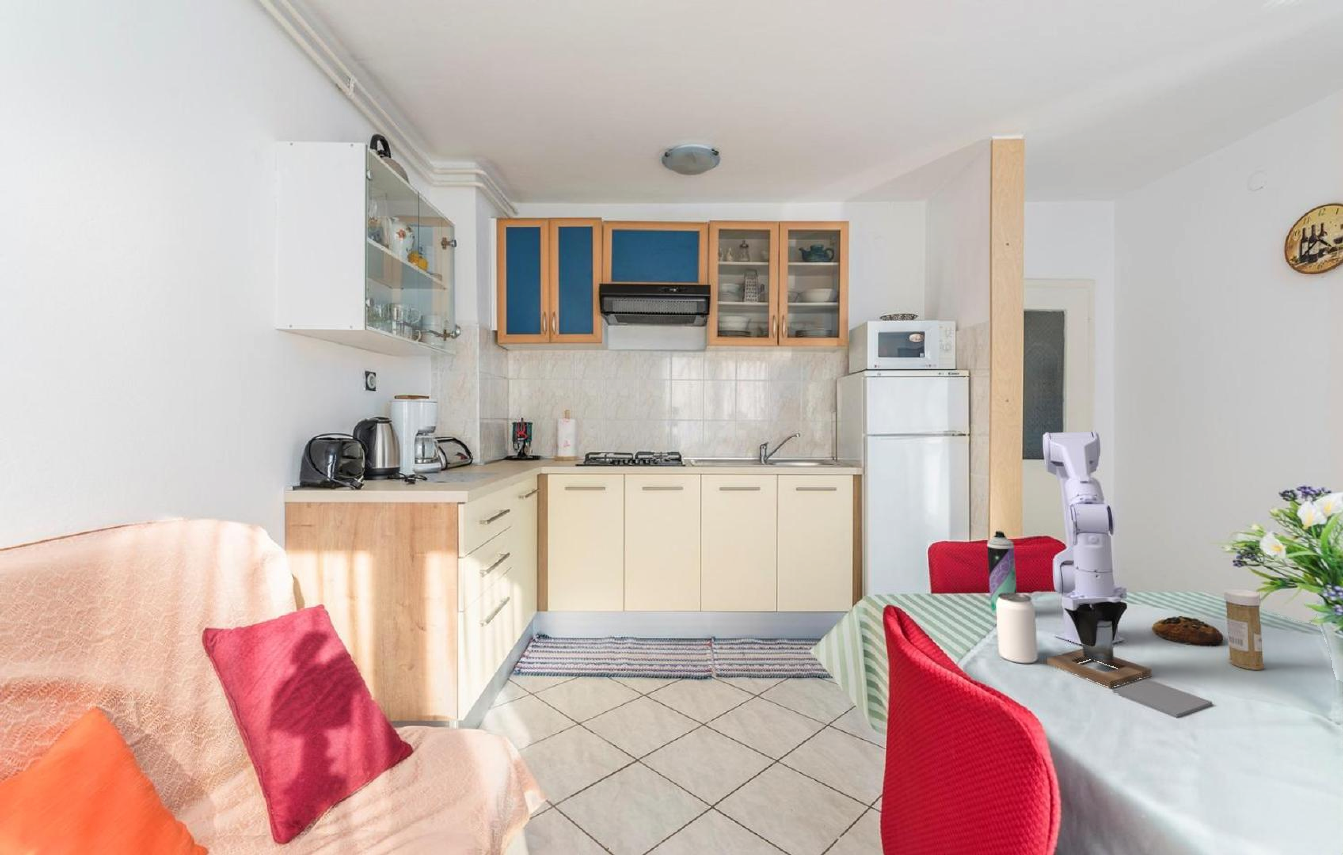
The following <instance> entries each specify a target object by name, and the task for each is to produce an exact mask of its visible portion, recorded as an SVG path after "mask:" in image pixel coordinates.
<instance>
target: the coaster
mask: <svg viewBox="0 0 1343 855" xmlns="http://www.w3.org/2000/svg"><path fill="white" fill-rule="evenodd" d="M1113 692H1114V693H1113ZM1112 693H1113V694H1115V693H1118V694H1119V695H1118V694H1117V695H1118V696H1120V695H1121V697H1123V698H1125V697H1127V698H1126V699H1128V698H1129V699H1128V700H1131V701H1134V702H1136V701H1137V702H1136V703H1139V704H1141V705H1144V706H1147V707H1149V708H1151V709H1153V710H1156V711H1157V712H1161V713H1164V714H1166V715H1169V716H1171V717H1174V718H1176V719H1177V718H1179V717H1183V716H1186V715H1189V714H1191V713H1194V712H1197V711H1199V710H1201V709H1205V708H1208V707H1210V706H1213V701H1211V700H1208V699H1206V698H1203V697H1200V696H1197V695H1194V694H1191V693H1189V692H1185V691H1183V690H1180V689H1178V688H1174V687H1172V686H1169V685H1165V684H1163V683H1161V682H1157V681H1155V680H1152V679H1148V678H1144V679H1141V680H1138V681H1134V682H1133V683H1132V682H1131V683H1128V684H1125V685H1122V686H1118V687H1115V688H1112Z"/></svg>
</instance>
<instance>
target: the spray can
mask: <svg viewBox="0 0 1343 855" xmlns="http://www.w3.org/2000/svg"><path fill="white" fill-rule="evenodd" d="M986 544H987V545H986V546H987V562H988V563H987V564H988V566H987V567H988V580H989V583H988V584H989V600H990V612H991V615H992V616H993V617H995V618H997V612H996V602H997V600H998V598H999V597H998V595H999V594H1000V593H1017V577H1016V562H1015V561H1016V560H1015V546H1014V542H1013V540H1010V539H1008V537H1007V536H1006V535H1005V532H1004V531H1003V530H1002V531H1001V530H995V534H994V535H993V536H992V538H990V539H988V540H987V543H986Z"/></svg>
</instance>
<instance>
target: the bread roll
mask: <svg viewBox="0 0 1343 855" xmlns="http://www.w3.org/2000/svg"><path fill="white" fill-rule="evenodd" d="M1150 629H1151V630H1152V631H1153V632H1154V633H1155V634H1156V635H1157V634H1158V635H1157V636H1159V635H1160V637H1161V636H1162V638H1163V637H1164V638H1163V639H1165V638H1167V639H1166V640H1170V641H1174V642H1178V643H1181V644H1185V643H1187V644H1186V645H1192V646H1197V647H1199V646H1200V647H1212V648H1213V647H1219V646H1222V644H1223V643H1224V635H1223V634H1222V633H1221V631H1220V630H1219V629H1218V628H1216V627H1214V626H1213V625H1211V624H1209V623H1206V622H1204V621H1201V620H1200V619H1198V618H1196V617H1193V618H1191V617H1188V616H1183V615H1179V616H1178V617H1177V616H1172V617H1167V618H1165V619H1164V618H1163V619H1161V620H1157V621H1156V622H1154V623H1153V625H1152V626H1151V628H1150Z"/></svg>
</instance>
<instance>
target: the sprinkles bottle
mask: <svg viewBox="0 0 1343 855" xmlns="http://www.w3.org/2000/svg"><path fill="white" fill-rule="evenodd" d="M1223 592H1224V594H1223V595H1224V597H1223V598H1224V601H1225V603H1226V604H1225V606H1226V607H1225V608H1226V630H1227V631H1226V632H1227V643H1228V649H1229V659H1228V661H1229V663H1230V664H1231V665H1233V666H1235V667H1238V668H1242V669H1244V670H1245V669H1246V670H1252V671H1260V670H1264V669H1265V664H1264V657H1263V655H1264V654H1263V648H1264V647H1263V639H1262V638H1263V637H1262V625H1261V618H1260V616H1261V615H1260V605H1261V602H1262V601H1261V595H1260V594H1259V593H1258V592H1255V591H1252V590H1248V589H1247V590H1246V589H1241V588H1239V589H1238V588H1227V589H1224V591H1223Z"/></svg>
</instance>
